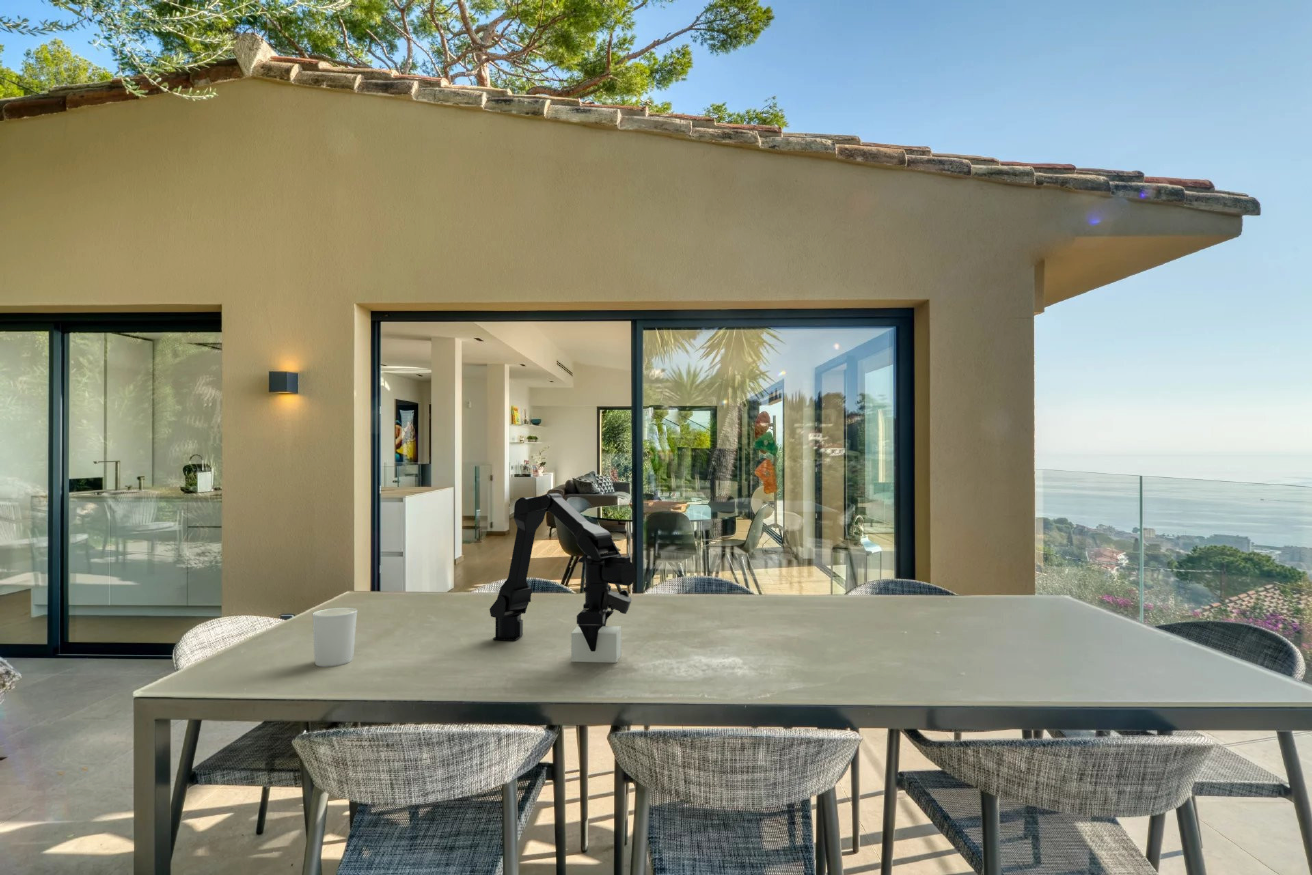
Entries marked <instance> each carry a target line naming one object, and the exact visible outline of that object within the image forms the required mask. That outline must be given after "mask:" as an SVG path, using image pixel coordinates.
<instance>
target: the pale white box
mask: <svg viewBox="0 0 1312 875" xmlns="http://www.w3.org/2000/svg"><path fill="white" fill-rule="evenodd" d="M570 637H571V639H570V640H571V641H570V643H571V645H570V647H571V648H570V649H571V650H570V651H571V655H570V656H571V660H570V661H571V662H573V663H574V662H575V663H576V662H577V663H608V664H609V663H613V664H614V663H615V664H616V663H617V662H618V661H619V659H620V657H621V656H622V626H621V625H617V626H616V625H611V626H610V625H606V626H602V627H601V628H600V629H599V633H598V639H597V646H596V651H591V650H590V648H589V646H588V644H587V641H586V639H585V637H584V635H583V633H582V631H581V629H580V627H579V626H578V625H577V626H576V627H575V628H574V629H573V631H572V632H571V634H570Z"/></svg>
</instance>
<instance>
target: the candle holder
mask: <svg viewBox="0 0 1312 875" xmlns="http://www.w3.org/2000/svg"><path fill="white" fill-rule="evenodd" d="M357 616H358V609H357V608H355V607H333V608H330V607H329V608H326V609H322V610H315V611H314V612H313V613H312V627H313V628H312V629H313V630H312V632H313V654H314V664H315V665H316V666H317V667H324V668H325V667H337V666H342V665H345V664H348V663H350V662H352V661H353V660H354V655H355V653H354V652H355V640H356V629H357V618H358V617H357Z"/></svg>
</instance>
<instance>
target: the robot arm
mask: <svg viewBox="0 0 1312 875" xmlns="http://www.w3.org/2000/svg"><path fill="white" fill-rule="evenodd" d="M547 512H550V514H552V515H553V516H554V517H555V518H556V519H557V520H558V521H559V522H560V523H561V524H562V525H563V526H564V527H566V529H567V530H568V531H570V532H571V533H572V534H573V535H574V537H575V542H576V544H577V546H578V547H579V548H580V550H581V551H582V552H583V555H582V556H581V557H580V558H579V559H578V560H577V561H578V563H582V564H584V584H585V585H584V586H583V590H582V591H583V592H584V603H583V608H582V610H581V611H580V612H578V614H577V615H576V625H577V626H579V627H580V629H581V631H582V633H583V635H584V637H585V639H586V641H587V644H588V646H589V648H590V650H591V651H596V646H597V639H598V633H599V629H600V628H601V627H602V626H607V622H608V619H609V618H610V616H612V614H613V613H614V611H618V612H619V613H620V614H624V615H626V614H627V613H628V612H629V609H630V605H631V604H632V601H633V599H632V597H631V596H630V594H629V590H626V589H622V590H620V591H619V592H617V591H612V586H611V585H618V586H626V587H629V586H631V585H632V584H633V583H634V582H635V580H636V577H637V569H636V568H635V564H634V563H633V562H631V556H622V554H621V553H620V551H619V548H617V546H616V543H615V542H614V540H613V536H612V534H611V532H610V531H608V530H607V529H605V528H603V526H600V525H597V524H595V523H592V522H590V521H588V520H587V519H586V518H585V517H584V516H583V515H582V514H580V512H579V511H578V510H576V509H575V507H573V506H572V505H571V504H570V503H568V501H567V500H565V499H564V497H563V495H562V494H560V493H558V492H555V493H545V494H542V495H540V496H539V495H538V496H522V497H519V498H518V499H516V501H515V503H514V508H513V520H514V521H515V525H516V528H517V529H516V534H515V539H514V545H513V549H512V555H511V561H510V566H509V571H508V576H507V578H506V580H505V581H504V582H503V584H502V585H501V587H500V588H499V591H498V595H497V599H496V600H495V601H494V602H493V604H492V605H491V606H490V607H489V614H490V617H491V618H495V627H494V628H495V633H494V634H495V636H494V637H493V638H492V640H493V641H517V640H518V639H520V638H521V637H522V636H523V635H524V632H523V631H524V629H523V628H524V623H523V622H524V620H523V619H522V614H526V612H527V609H528V606H529V603H531V601H532V593H533V588H532V587H530V586H529V583H528V581H527V579H528V573H529V568H530V562H531V559H532V558H531V556H532V552H533V551H532V550H533V548H534V547H533V546H534V542H535V537H536V531H537V530H538V528H539V527H540V526H541V524H542V523H543V522H544V519H545V517H546V514H547ZM609 609H610V610H609Z"/></svg>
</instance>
